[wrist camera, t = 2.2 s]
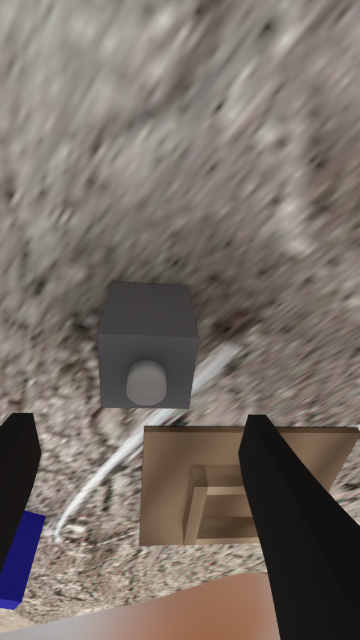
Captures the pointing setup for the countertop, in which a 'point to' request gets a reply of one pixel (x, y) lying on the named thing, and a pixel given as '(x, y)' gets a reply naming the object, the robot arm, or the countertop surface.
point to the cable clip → (20, 560)
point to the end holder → (218, 480)
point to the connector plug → (147, 346)
